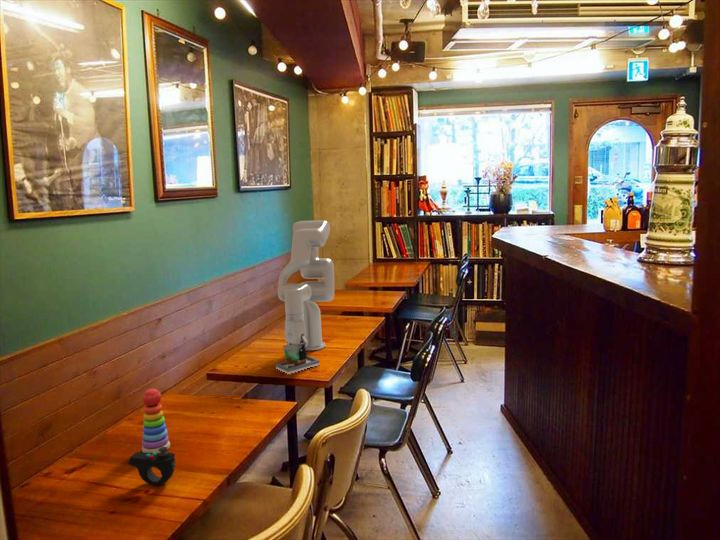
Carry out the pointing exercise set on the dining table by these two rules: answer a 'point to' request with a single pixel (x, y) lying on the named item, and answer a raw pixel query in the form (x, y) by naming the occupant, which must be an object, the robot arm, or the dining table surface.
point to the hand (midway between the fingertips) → (297, 356)
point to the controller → (154, 465)
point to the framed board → (309, 363)
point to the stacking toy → (153, 423)
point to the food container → (293, 355)
